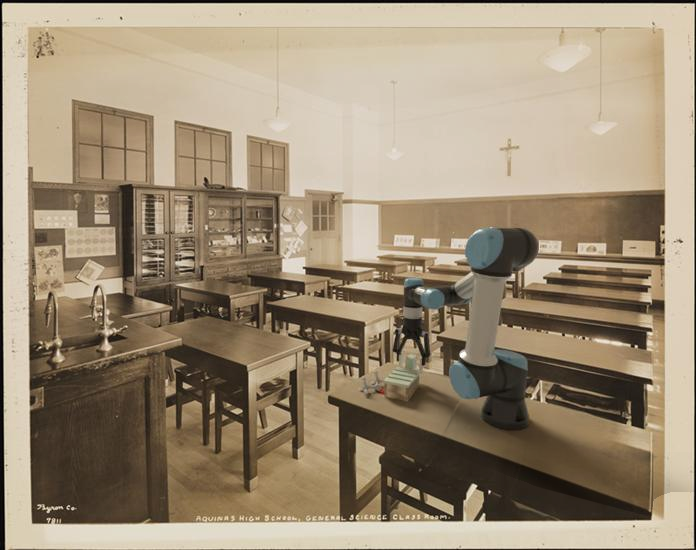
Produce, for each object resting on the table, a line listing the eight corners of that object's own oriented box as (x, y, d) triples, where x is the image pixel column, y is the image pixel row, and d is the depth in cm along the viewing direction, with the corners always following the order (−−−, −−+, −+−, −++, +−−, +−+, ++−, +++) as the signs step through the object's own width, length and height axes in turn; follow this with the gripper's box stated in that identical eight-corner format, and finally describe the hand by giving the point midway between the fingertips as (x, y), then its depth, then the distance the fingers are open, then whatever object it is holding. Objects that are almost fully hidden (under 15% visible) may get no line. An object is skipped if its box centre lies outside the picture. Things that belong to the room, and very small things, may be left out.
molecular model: (392, 397, 162) (373, 383, 168) (399, 381, 160) (379, 368, 165) (372, 408, 151) (352, 393, 156) (379, 391, 148) (359, 376, 154)
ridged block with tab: (424, 368, 167) (424, 356, 166) (408, 387, 148) (409, 374, 147) (401, 364, 171) (402, 352, 170) (383, 383, 152) (384, 370, 151)
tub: (418, 387, 162) (419, 373, 161) (407, 403, 149) (408, 387, 148) (397, 383, 166) (397, 369, 165) (384, 398, 153) (384, 382, 152)
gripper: (440, 317, 162) (438, 372, 165) (391, 311, 171) (389, 363, 174) (436, 321, 155) (433, 378, 159) (384, 315, 164) (383, 369, 167)
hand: (410, 370), depth 166 cm, fingers open, 8 cm apart
